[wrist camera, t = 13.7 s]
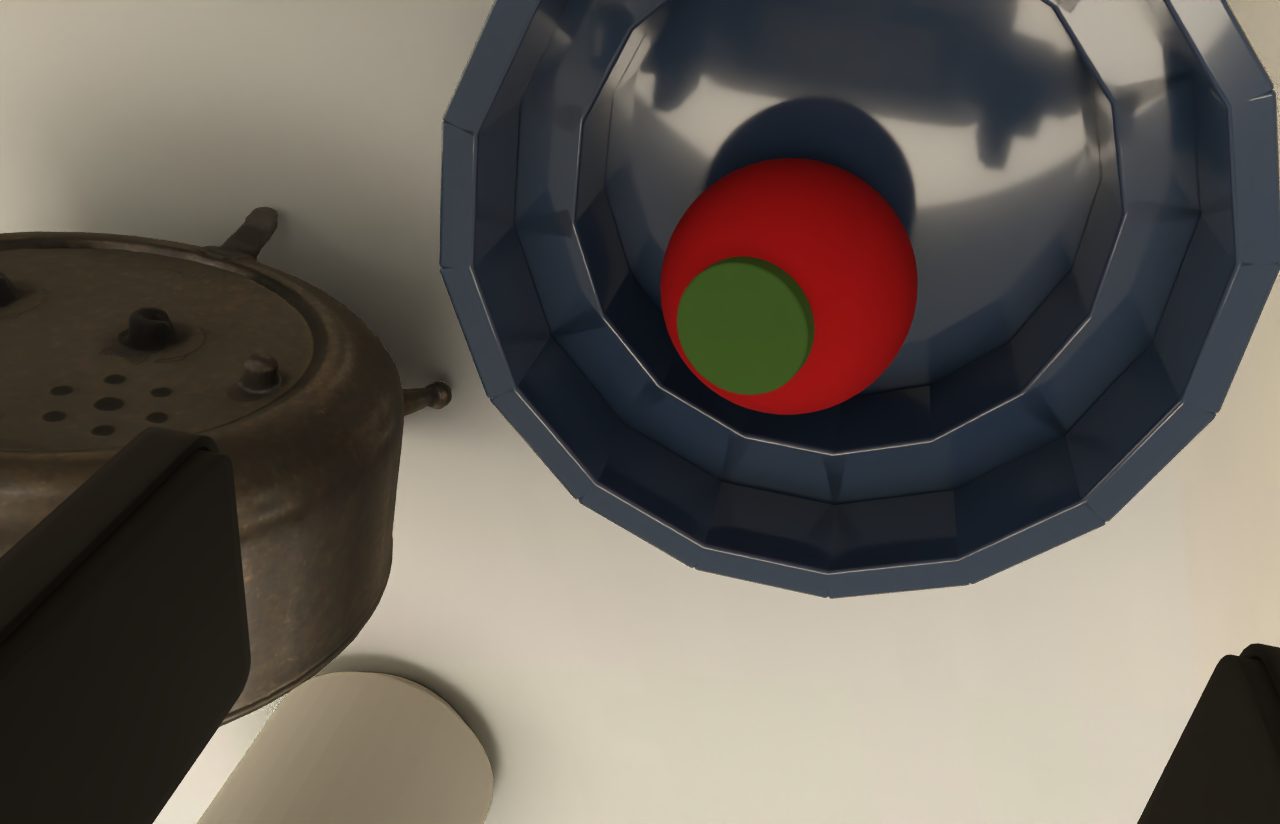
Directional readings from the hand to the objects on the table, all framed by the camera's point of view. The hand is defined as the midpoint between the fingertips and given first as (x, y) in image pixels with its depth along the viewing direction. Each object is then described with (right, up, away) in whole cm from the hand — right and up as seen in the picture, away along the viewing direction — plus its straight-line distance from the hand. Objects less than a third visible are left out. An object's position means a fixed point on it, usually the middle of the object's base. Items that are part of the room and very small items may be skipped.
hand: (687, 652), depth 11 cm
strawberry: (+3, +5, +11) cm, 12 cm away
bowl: (+3, +7, +10) cm, 13 cm away
